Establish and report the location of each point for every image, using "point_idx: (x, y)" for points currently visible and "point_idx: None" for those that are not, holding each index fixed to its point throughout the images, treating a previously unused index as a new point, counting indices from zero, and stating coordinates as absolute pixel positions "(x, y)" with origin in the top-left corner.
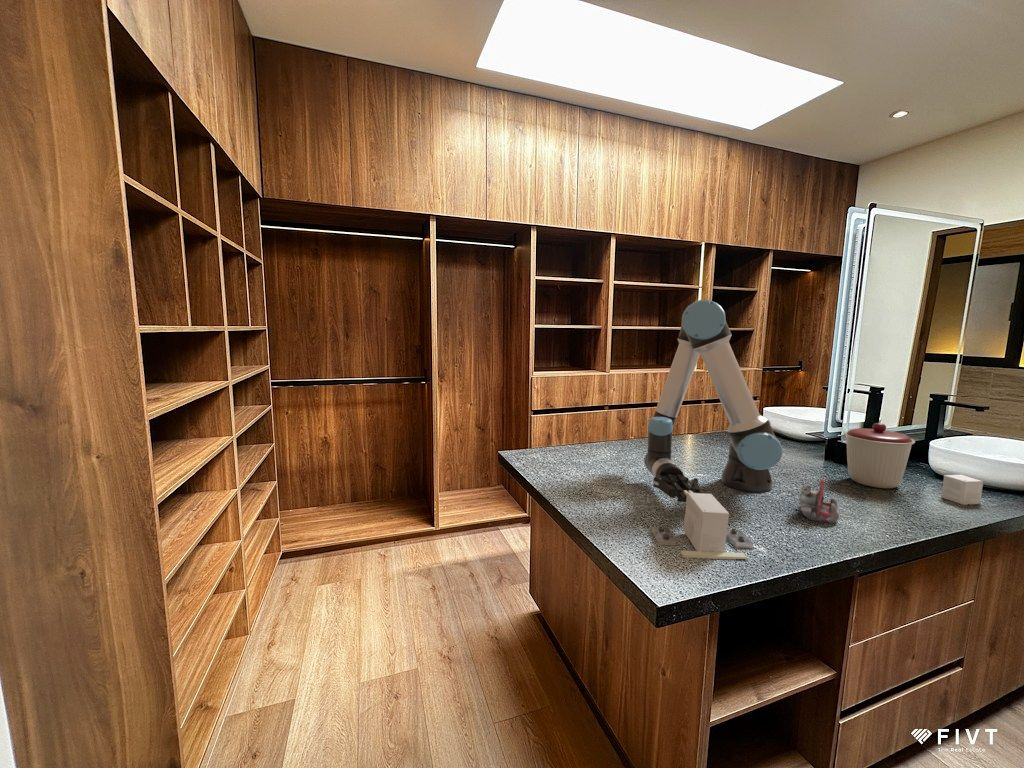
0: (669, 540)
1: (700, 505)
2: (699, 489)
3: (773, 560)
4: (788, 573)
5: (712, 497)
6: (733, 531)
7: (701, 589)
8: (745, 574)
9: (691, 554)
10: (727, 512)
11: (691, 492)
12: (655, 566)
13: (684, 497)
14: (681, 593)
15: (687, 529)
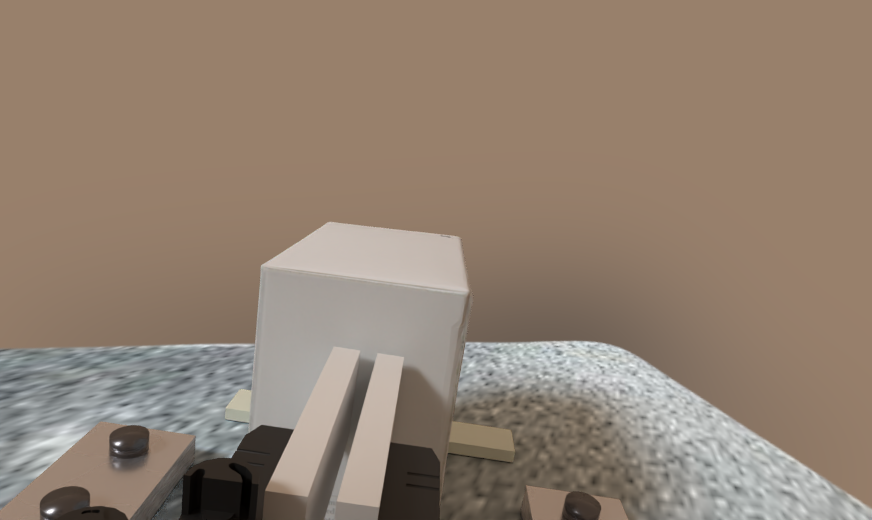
0: (563, 491)
1: (446, 245)
2: (79, 516)
3: (121, 385)
4: (162, 345)
5: (299, 253)
6: (89, 494)
7: (499, 350)
8: None
9: (475, 428)
10: (333, 222)
11: (310, 447)
12: (627, 421)
13: (424, 452)
14: (557, 350)
15: None
